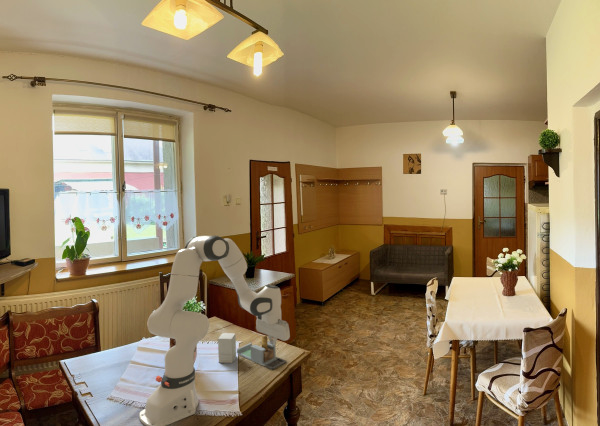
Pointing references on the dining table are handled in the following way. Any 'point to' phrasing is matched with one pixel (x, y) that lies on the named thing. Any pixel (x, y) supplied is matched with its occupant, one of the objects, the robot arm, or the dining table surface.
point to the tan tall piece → (268, 352)
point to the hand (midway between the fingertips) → (272, 344)
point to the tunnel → (260, 355)
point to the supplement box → (227, 347)
